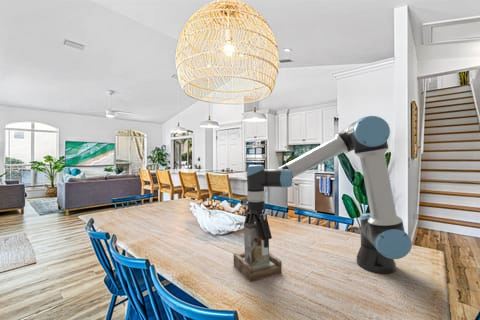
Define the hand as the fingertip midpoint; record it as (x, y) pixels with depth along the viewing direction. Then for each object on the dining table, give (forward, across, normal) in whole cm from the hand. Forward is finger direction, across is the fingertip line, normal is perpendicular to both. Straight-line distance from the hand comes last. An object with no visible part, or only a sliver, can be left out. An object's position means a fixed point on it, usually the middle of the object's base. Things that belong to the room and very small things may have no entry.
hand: (256, 248), depth 102 cm
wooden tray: (+9, 0, 0) cm, 9 cm away
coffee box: (+6, 0, 0) cm, 6 cm away
